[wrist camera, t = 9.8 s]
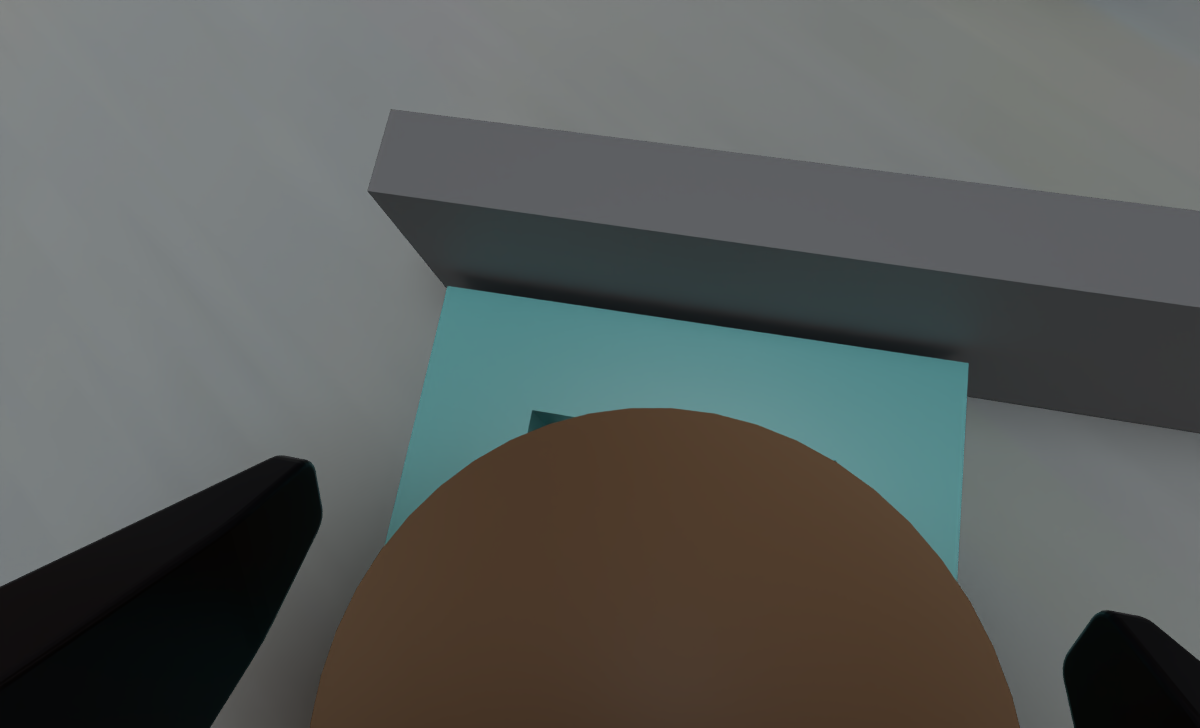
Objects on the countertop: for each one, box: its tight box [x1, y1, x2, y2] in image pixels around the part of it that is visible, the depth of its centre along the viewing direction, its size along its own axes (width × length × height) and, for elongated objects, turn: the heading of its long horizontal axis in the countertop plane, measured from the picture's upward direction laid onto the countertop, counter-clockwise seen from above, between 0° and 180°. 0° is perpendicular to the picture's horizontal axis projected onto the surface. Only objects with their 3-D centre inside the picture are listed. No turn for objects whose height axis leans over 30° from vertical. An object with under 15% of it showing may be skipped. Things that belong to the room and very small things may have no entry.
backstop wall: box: [367, 109, 1200, 433], centre depth 14 cm, size 5×22×7 cm, turn 80°
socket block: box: [385, 286, 969, 581], centre depth 15 cm, size 11×11×4 cm
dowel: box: [310, 408, 1020, 728], centre depth 10 cm, size 4×4×12 cm
